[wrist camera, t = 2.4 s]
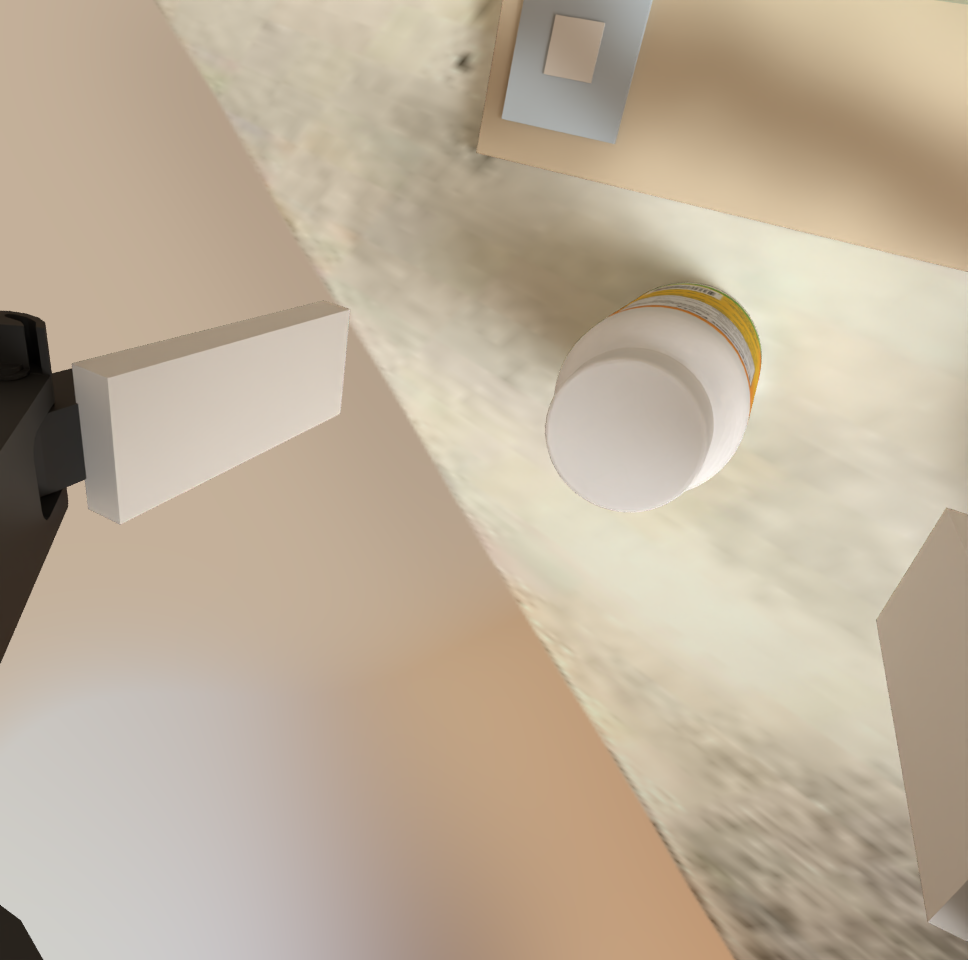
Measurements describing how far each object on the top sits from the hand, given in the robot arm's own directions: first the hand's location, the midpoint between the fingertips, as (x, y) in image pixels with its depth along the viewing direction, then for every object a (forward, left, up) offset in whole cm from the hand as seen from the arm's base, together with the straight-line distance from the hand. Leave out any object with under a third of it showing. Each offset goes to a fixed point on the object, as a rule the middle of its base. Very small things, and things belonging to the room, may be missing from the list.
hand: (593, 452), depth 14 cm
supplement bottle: (0, 0, -12) cm, 12 cm away
